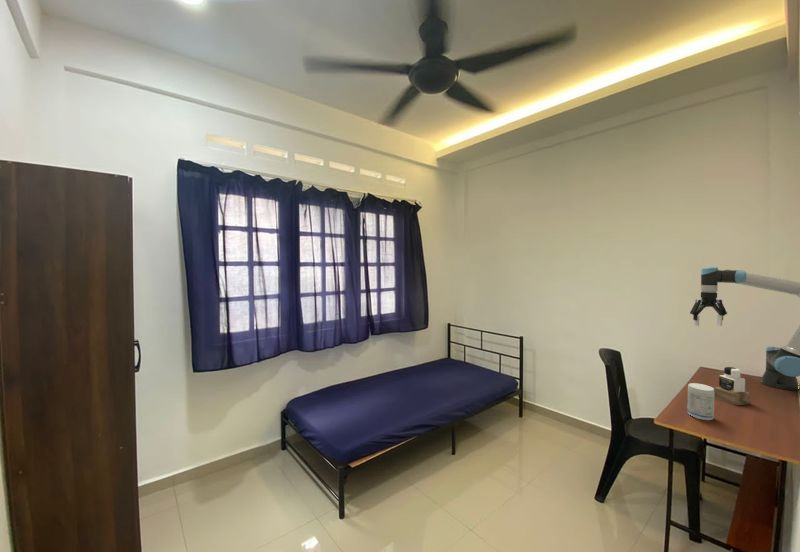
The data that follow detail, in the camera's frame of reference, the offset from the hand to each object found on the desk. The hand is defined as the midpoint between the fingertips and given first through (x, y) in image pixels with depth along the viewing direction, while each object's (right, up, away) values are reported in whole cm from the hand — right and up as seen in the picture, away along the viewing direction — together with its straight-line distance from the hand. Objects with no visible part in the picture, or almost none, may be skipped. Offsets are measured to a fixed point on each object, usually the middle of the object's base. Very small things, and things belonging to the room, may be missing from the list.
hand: (708, 325), depth 204 cm
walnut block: (-15, -36, -29) cm, 49 cm away
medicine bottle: (-15, -30, -29) cm, 45 cm away
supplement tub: (-47, -37, -46) cm, 76 cm away
